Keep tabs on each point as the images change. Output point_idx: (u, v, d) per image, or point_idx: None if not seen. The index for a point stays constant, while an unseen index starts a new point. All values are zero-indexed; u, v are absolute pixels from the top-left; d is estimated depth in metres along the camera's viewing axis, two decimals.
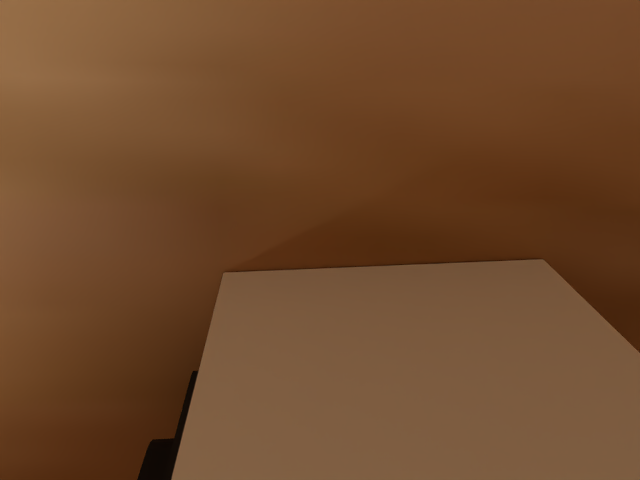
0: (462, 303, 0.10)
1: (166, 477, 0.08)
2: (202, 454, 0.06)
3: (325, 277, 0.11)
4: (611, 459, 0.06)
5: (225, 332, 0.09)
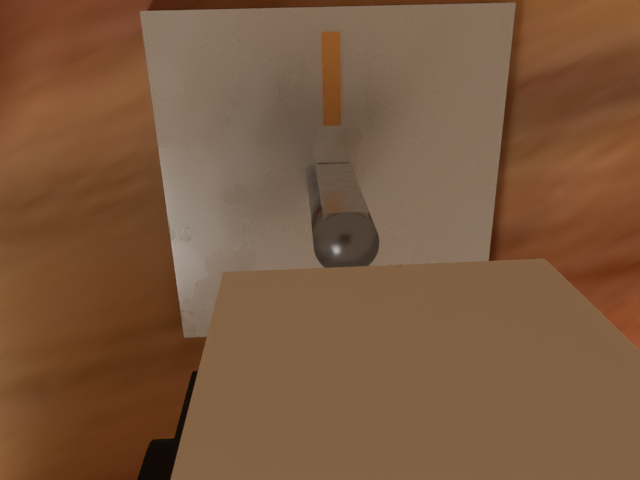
0: (463, 303, 0.09)
1: (166, 477, 0.08)
2: (201, 455, 0.06)
3: (325, 277, 0.10)
4: (614, 460, 0.06)
5: (225, 332, 0.09)
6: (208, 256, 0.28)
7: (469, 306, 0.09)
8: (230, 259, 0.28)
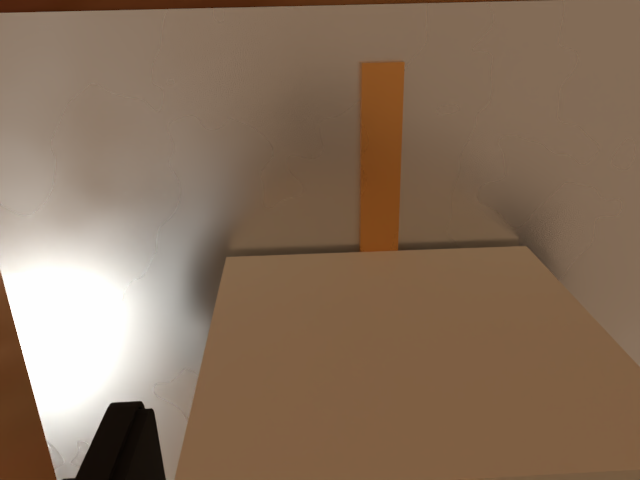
0: (448, 287, 0.10)
1: None
2: (210, 420, 0.07)
3: (321, 262, 0.11)
4: (573, 426, 0.07)
5: (229, 312, 0.10)
6: None
7: (454, 290, 0.10)
8: None
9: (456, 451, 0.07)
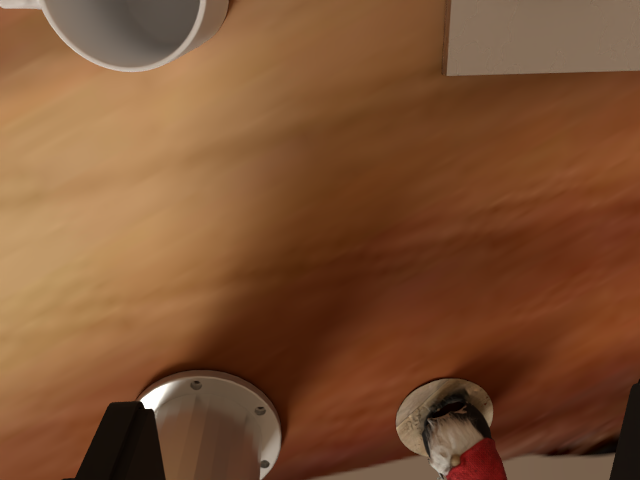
0: None
1: None
2: None
3: None
4: None
5: None
6: None
7: None
8: None
9: None
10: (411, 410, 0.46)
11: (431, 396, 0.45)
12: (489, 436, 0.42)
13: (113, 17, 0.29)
